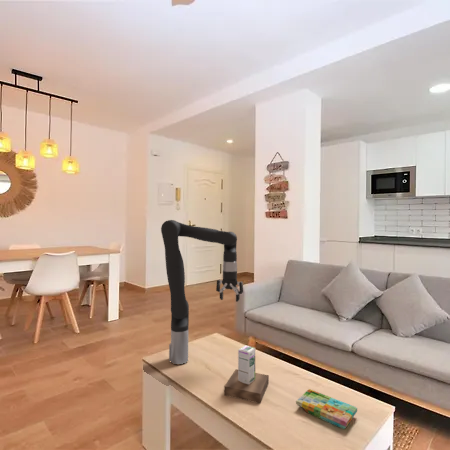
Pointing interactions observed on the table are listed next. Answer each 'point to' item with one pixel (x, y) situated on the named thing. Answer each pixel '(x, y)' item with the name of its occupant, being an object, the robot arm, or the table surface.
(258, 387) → the walnut base
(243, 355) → the syrup box
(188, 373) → the table surface
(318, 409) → the puzzle game
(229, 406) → the table surface
